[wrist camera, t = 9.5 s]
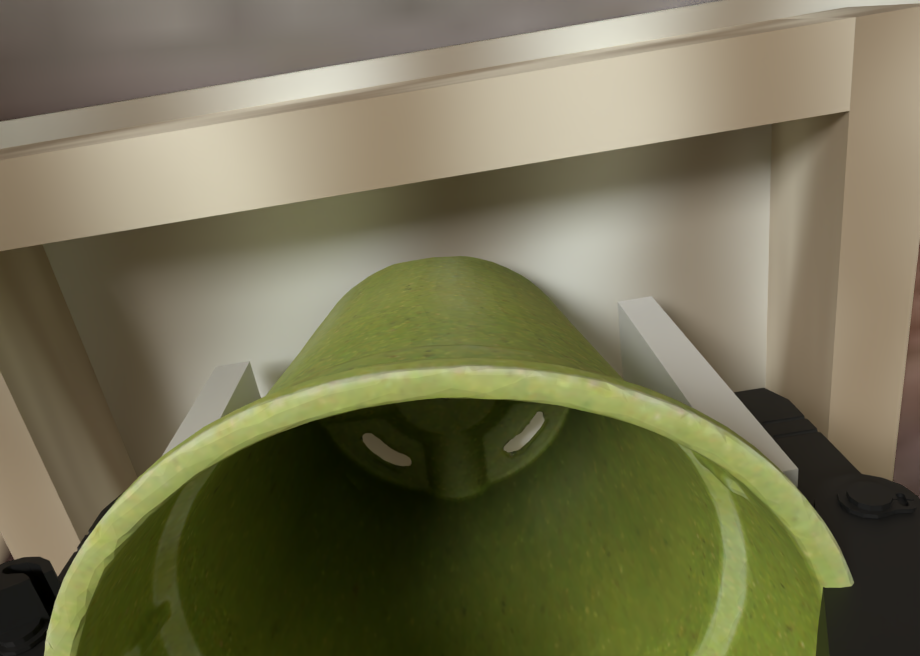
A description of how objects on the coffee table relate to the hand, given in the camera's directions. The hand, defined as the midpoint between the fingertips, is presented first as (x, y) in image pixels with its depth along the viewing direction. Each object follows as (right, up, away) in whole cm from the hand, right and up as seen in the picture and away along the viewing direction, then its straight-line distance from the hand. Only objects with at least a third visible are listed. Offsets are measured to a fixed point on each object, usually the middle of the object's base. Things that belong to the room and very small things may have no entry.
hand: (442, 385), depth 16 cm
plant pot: (0, 0, 0) cm, 0 cm away
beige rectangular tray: (0, 0, +2) cm, 2 cm away
